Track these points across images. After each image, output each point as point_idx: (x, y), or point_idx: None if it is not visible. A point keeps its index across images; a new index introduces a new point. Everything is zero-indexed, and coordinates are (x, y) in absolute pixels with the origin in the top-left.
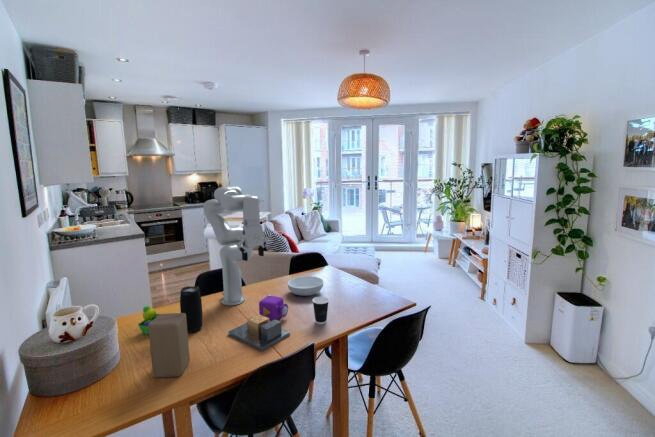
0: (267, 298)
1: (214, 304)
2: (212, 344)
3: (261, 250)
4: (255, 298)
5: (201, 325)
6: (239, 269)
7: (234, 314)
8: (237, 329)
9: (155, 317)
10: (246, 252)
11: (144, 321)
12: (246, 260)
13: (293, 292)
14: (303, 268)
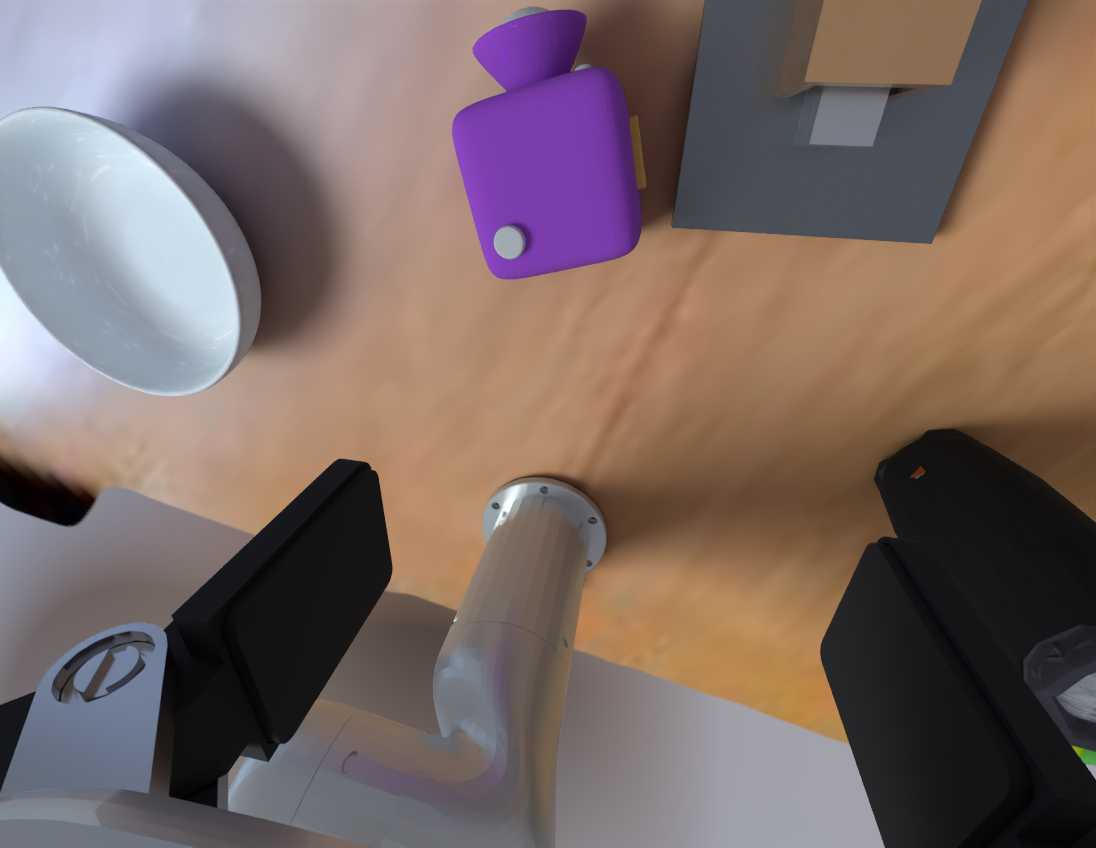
0: (556, 223)
1: (627, 574)
2: (1090, 224)
3: (291, 598)
4: (448, 457)
5: (923, 444)
6: (463, 657)
7: (666, 414)
8: (881, 210)
9: None
10: (1070, 815)
11: None
12: (916, 552)
13: (258, 281)
14: (34, 498)
